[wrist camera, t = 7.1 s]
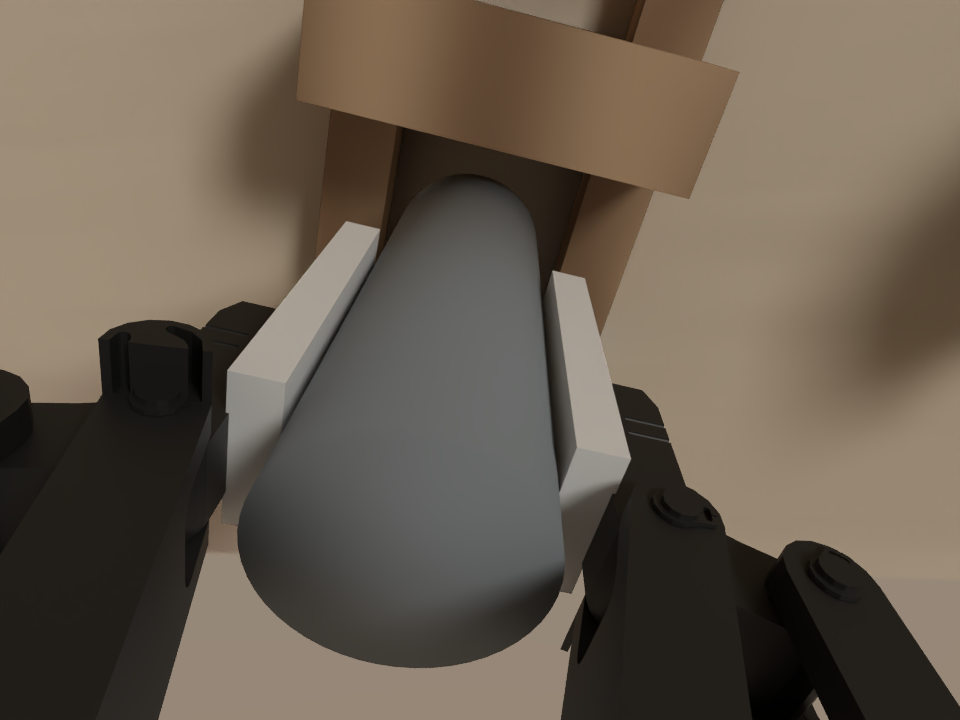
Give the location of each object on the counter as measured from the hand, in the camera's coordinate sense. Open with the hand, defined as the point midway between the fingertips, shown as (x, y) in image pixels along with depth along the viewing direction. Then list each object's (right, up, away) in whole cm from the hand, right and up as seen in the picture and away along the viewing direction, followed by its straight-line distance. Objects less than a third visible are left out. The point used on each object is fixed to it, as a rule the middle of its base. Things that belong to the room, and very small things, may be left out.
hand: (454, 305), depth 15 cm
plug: (0, +2, +4) cm, 4 cm away
